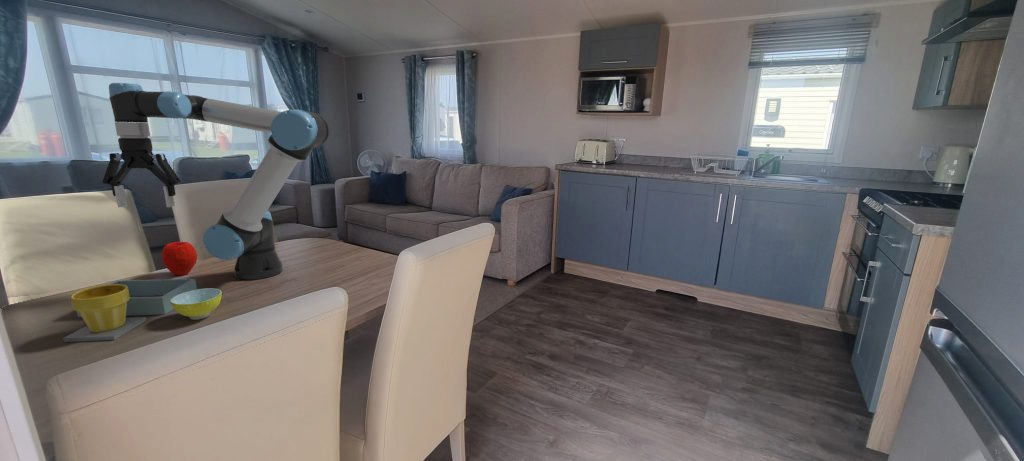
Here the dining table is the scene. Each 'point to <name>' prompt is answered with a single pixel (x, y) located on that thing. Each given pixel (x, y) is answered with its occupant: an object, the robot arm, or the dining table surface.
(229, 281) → the dining table surface
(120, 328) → the plate
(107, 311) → the plant pot
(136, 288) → the crate
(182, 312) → the bowl
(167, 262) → the apple
